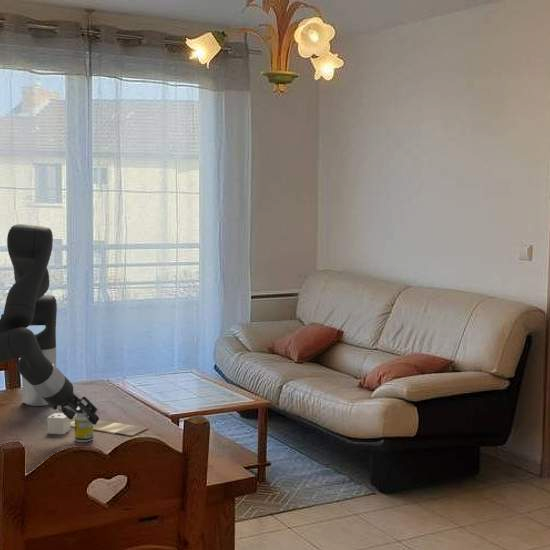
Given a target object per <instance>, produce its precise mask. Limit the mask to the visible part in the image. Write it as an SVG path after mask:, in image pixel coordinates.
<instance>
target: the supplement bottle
mask: <svg viewBox="0 0 550 550" xmlns="http://www.w3.org/2000/svg"><path fill="white" fill-rule="evenodd" d="M79 409H80V408H79V406H78V407H77V409H76V410H79ZM83 412H84V411H83ZM74 421H75V427H74V440H75V441H76V442H78V443H88V441H89V442H91V440H92V441H93V440H94V431H93V424H92V423H91V422H90V421H89V420H88V419H87V418H86V417H85V416H83V415H82V414H75V416H74Z"/></svg>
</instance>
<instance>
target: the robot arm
mask: <svg viewBox="0 0 550 550" xmlns="http://www.w3.org/2000/svg"><path fill="white" fill-rule="evenodd" d="M53 238H54V236H53V231H52V229H51V228H50V227H47V226H43V225H32V224H26V223H25V224H22V223H17V224H13V225H12V226H11V227H10V229H9V230H8V232H7V237H6V246H7V252H8V255H9V258H10V262H11V264H12V266H13V267H12V268H13V274H14V282H15V283H13V284H12V286H11V287H10V289H9V291H8V293H7V295H6V298H5V304H4V309H3V314H2V316H1V317H0V363H5V362H11V361H14V360H18V361H17V365H16V366H17V367H16V369H17V371H18V373H19V374H20V375H21V379H22V380H21V381H22V383H21V386H22V391H21V392H22V403H24V404H25V405H26V406H27V405H28V406H32V407H43V406H50V407H51V408H52V409H53V410H55V411H56V410H58V412H59V413H62V414H65V415H66V416H67V417H68V418H69V419H70V421H71V420H73V419H74V418H75V416H76V415H77V414H82V415H83V416H85V417H86V418H87V419H88V420H89V421H90V422H91V423H92V424H94V425H96V424H97V422H98V420H100V417H99V416H98V415H97V414H96V413H97V411H98V408H97V407H96V406H95V405H94V404H93V403H92V402H91V401H90V400H89V399H88V398H87V397H86V396H82V397H81V398H80V397H79V396H78V395H77V394H75V393H74V385H73V383H72V382H71V381H70V380H69V379H68V378H67V376H65V374H63V372H62V371H61V370H60V369H59V368H58V367H57V341H56V340H57V338H56V337H57V335H56V332H57V312H58V311H57V310H58V307H57V306H58V305H57V299H56V297H55V295H53V294H46V293H47V292H48V291H49V288H50V274H49V270H48V265H49V262H50V258H51V255H52V250H53V242H54V241H53V240H54V239H53ZM30 326H31V327H32V326H45V327H44V329H42V330H41V331H40V332H38V333H36V334H35V333H34V332H33V331H32V330H31V329H30V328H28V327H30ZM78 407H79V408H80V409H79V410H76V409H77V408H78ZM83 411H84V412H83Z"/></svg>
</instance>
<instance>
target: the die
mask: <svg viewBox="0 0 550 550" xmlns="http://www.w3.org/2000/svg"><path fill="white" fill-rule="evenodd" d="M70 422H71V419H69V418H68V417H67V416H66V415H65V414H64V413H63V412H59V413H58V412H54V413H52V414H50V415H49V416H47V434H48V433H49V434H51V435H63V434H64V435H65V434H67V433H68V432H69V430H70V431H71V427H70ZM66 432H67V433H66Z"/></svg>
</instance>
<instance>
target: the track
mask: <svg viewBox="0 0 550 550" xmlns="http://www.w3.org/2000/svg"><path fill="white" fill-rule="evenodd" d="M70 428H75V420H74V421H70ZM93 430H95V431H94V432H100V431H101V432H100V433H106V432H107V433H108V434H113V435H118V436H124V435H125V436H124V437H126V436H127V437H131V438H132V437H134V435H135V436H137V435H140V434H141V433H143V432H146V431H147V430H149V427H146V426H140V425H139V426H138V425H132V424H126V423H120V422H114V421H113V422H112V421H107V420H100V419H99V420H98V422H97V424H96V425H94V424H93ZM107 433H106V434H107ZM136 434H137V435H136Z"/></svg>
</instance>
